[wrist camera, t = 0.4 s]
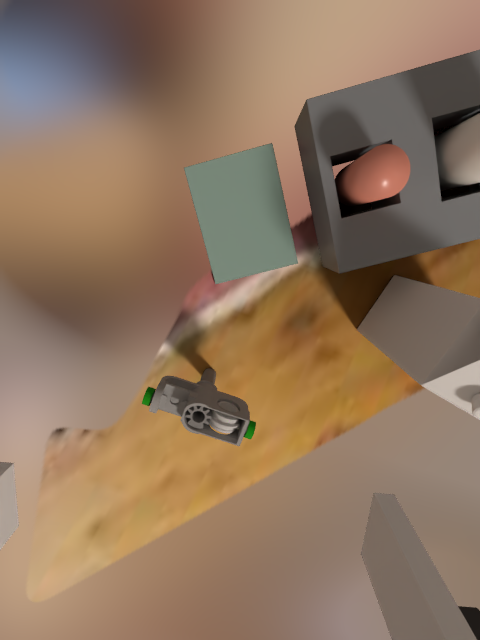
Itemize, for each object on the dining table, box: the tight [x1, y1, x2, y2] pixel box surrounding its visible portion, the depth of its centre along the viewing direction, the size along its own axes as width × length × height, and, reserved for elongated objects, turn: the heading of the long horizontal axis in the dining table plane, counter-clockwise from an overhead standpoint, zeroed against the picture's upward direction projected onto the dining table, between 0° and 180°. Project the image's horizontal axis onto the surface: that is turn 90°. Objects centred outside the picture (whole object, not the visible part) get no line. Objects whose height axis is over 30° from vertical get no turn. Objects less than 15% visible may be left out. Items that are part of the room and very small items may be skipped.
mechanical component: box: [142, 368, 256, 446], centre depth 36 cm, size 3×10×10 cm, turn 70°
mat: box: [184, 143, 298, 284], centre depth 36 cm, size 12×9×1 cm
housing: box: [295, 50, 480, 273], centre depth 32 cm, size 14×17×7 cm
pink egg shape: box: [335, 144, 410, 206], centre depth 29 cm, size 4×4×8 cm
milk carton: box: [357, 275, 480, 420], centre depth 30 cm, size 7×7×19 cm
